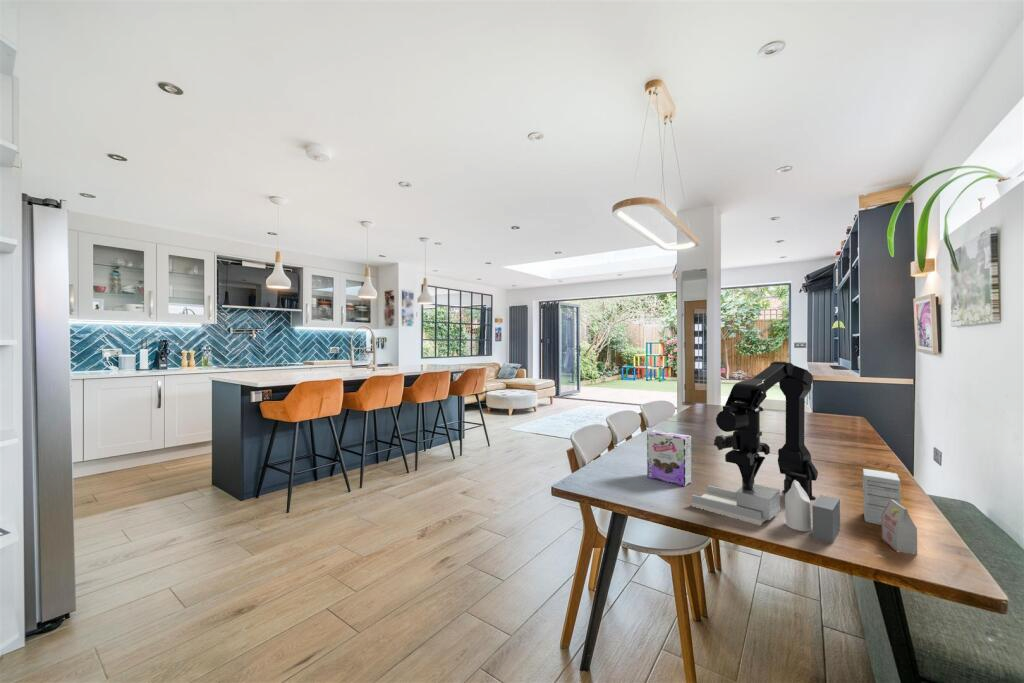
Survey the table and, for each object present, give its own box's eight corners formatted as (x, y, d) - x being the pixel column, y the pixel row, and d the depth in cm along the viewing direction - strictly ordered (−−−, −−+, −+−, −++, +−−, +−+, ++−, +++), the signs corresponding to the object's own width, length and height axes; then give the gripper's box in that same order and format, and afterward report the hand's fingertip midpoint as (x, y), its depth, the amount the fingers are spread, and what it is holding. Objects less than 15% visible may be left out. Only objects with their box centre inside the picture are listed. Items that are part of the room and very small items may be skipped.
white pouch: (810, 486, 104) (784, 481, 107) (811, 533, 104) (784, 527, 107) (810, 479, 109) (784, 475, 112) (810, 524, 109) (785, 519, 112)
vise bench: (691, 506, 121) (691, 479, 121) (708, 494, 130) (708, 469, 130) (831, 545, 97) (831, 511, 98) (841, 528, 106) (840, 497, 107)
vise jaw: (736, 511, 114) (736, 473, 114) (748, 501, 121) (747, 465, 121) (769, 520, 108) (769, 480, 108) (779, 509, 115) (779, 471, 115)
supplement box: (862, 512, 116) (862, 468, 116) (898, 519, 111) (898, 473, 111) (863, 521, 110) (863, 474, 110) (901, 529, 106) (901, 480, 106)
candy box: (646, 477, 148) (646, 431, 148) (654, 473, 152) (653, 429, 152) (685, 487, 138) (684, 437, 138) (692, 482, 142) (691, 435, 142)
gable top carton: (900, 541, 100) (900, 499, 100) (917, 554, 93) (916, 510, 93) (881, 538, 101) (881, 497, 101) (896, 552, 94) (896, 508, 94)
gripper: (729, 419, 129) (729, 469, 129) (705, 428, 116) (705, 484, 116) (770, 424, 120) (770, 478, 120) (749, 434, 108) (749, 494, 108)
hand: (748, 483), depth 116 cm, fingers closed on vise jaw, 3 cm apart
